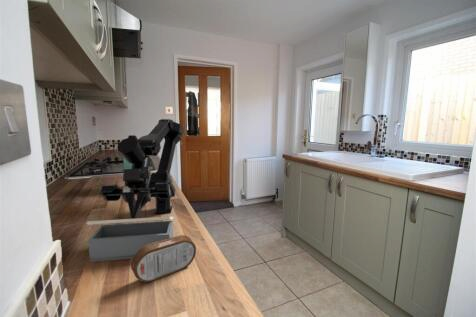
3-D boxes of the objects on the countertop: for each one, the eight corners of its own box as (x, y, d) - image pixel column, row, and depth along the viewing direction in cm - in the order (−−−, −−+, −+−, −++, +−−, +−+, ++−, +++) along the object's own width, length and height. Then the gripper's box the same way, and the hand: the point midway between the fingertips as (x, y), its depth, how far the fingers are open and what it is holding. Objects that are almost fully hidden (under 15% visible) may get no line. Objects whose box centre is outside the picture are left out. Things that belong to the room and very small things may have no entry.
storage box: (103, 244, 68) (101, 225, 67) (173, 238, 72) (172, 220, 71) (90, 261, 60) (87, 240, 59) (170, 254, 63) (169, 234, 62)
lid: (100, 224, 67) (100, 221, 68) (173, 219, 71) (173, 216, 71) (86, 224, 59) (87, 221, 59) (169, 219, 62) (169, 216, 63)
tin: (192, 259, 62) (192, 229, 60) (198, 265, 59) (197, 234, 58) (131, 282, 53) (129, 248, 52) (135, 290, 50) (132, 254, 49)
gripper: (99, 157, 65) (84, 209, 56) (168, 156, 68) (164, 205, 60) (111, 177, 74) (100, 225, 65) (171, 175, 77) (169, 221, 69)
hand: (133, 219), depth 64 cm, fingers closed, pressing on lid
